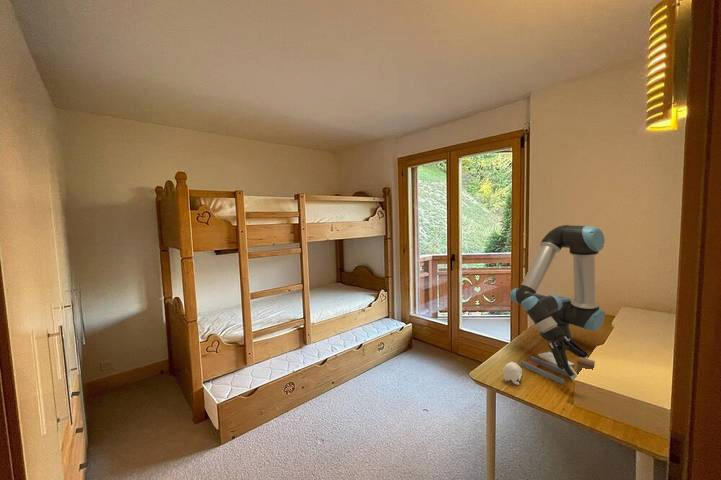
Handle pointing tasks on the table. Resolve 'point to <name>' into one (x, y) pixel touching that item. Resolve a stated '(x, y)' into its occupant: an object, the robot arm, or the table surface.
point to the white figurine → (512, 372)
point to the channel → (545, 373)
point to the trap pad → (533, 363)
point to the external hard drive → (551, 358)
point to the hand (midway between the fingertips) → (587, 378)
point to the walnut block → (584, 364)
